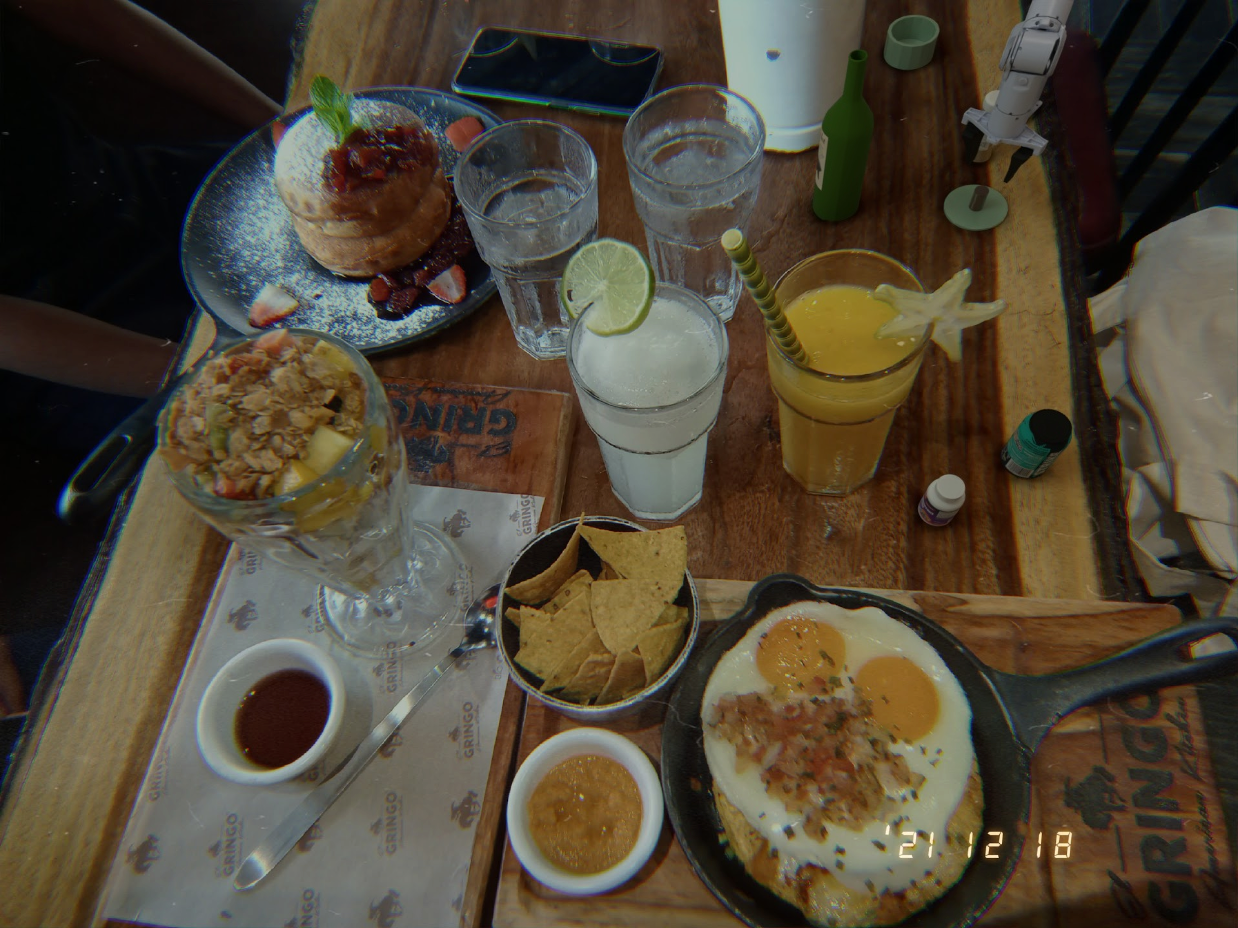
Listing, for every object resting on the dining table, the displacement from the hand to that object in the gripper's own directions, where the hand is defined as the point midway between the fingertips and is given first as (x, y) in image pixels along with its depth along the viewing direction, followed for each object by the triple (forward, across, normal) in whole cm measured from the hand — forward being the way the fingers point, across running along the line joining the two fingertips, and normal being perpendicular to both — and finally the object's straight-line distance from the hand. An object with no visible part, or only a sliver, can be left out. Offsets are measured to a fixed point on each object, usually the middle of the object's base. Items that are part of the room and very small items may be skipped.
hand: (988, 170), depth 132 cm
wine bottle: (+10, -21, -14) cm, 28 cm away
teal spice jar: (+11, +36, -40) cm, 55 cm away
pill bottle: (+11, +31, -56) cm, 65 cm away
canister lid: (+9, 0, 0) cm, 9 cm away
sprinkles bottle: (+10, -7, +13) cm, 18 cm away
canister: (+9, -36, +31) cm, 48 cm away
